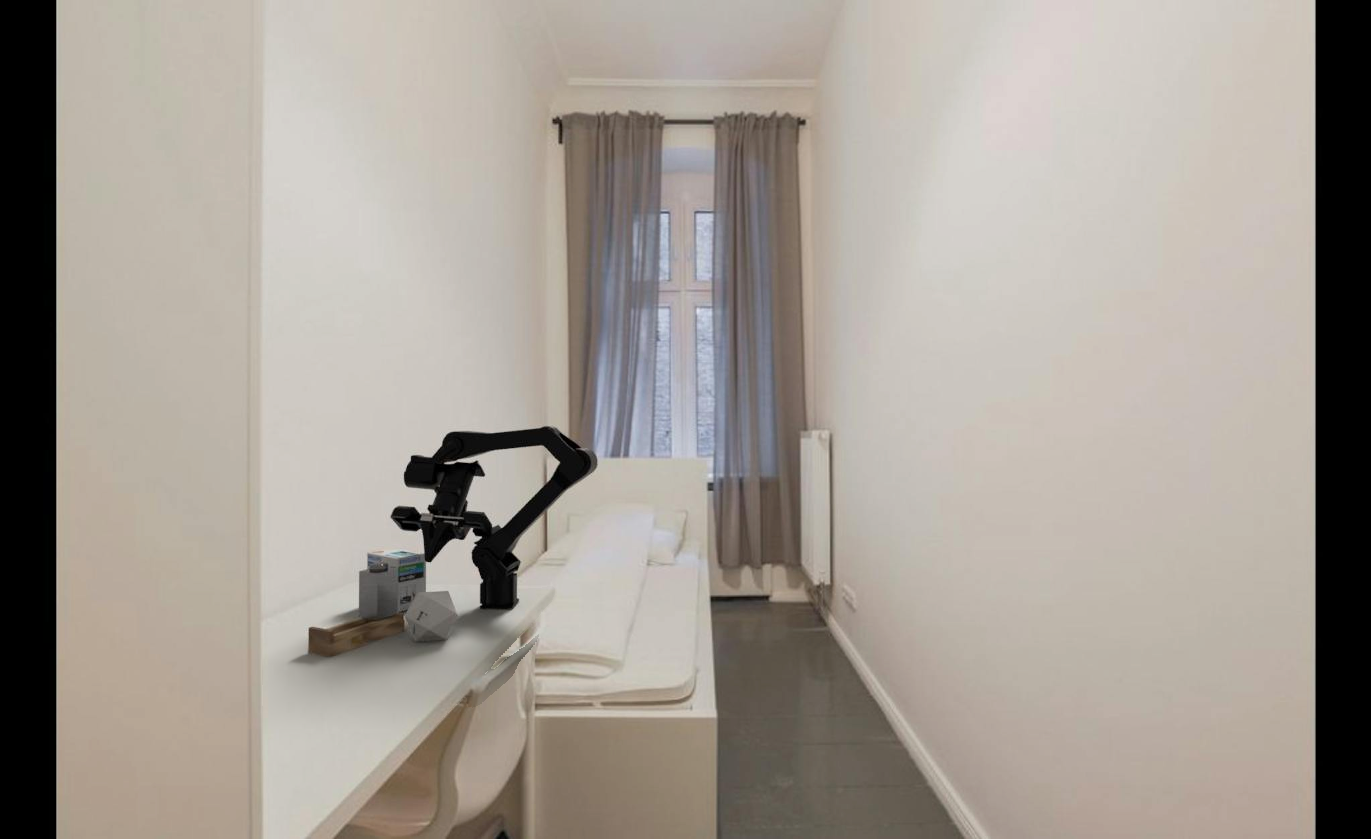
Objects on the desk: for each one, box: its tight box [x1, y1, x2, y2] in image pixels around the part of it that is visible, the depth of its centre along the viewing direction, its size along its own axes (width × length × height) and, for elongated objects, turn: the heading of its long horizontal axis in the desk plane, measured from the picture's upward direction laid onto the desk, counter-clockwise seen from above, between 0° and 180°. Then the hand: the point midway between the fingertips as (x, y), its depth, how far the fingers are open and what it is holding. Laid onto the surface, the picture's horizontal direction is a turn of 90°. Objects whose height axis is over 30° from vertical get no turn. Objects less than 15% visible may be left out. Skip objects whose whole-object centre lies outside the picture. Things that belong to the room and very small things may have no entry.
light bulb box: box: [366, 547, 427, 613], centre depth 137 cm, size 11×7×11 cm, turn 58°
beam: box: [307, 612, 406, 658], centre depth 115 cm, size 15×5×4 cm, turn 156°
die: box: [404, 590, 458, 643], centre depth 116 cm, size 8×9×10 cm
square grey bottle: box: [358, 562, 399, 623], centre depth 118 cm, size 4×4×10 cm
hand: (427, 561), depth 127 cm, fingers closed
